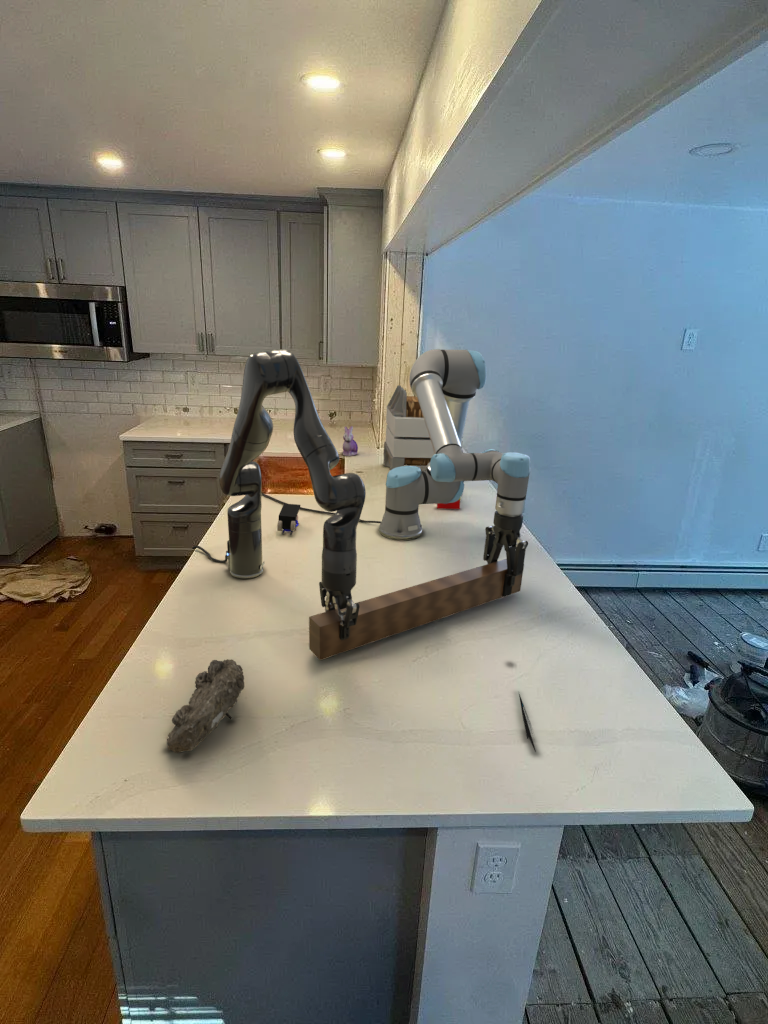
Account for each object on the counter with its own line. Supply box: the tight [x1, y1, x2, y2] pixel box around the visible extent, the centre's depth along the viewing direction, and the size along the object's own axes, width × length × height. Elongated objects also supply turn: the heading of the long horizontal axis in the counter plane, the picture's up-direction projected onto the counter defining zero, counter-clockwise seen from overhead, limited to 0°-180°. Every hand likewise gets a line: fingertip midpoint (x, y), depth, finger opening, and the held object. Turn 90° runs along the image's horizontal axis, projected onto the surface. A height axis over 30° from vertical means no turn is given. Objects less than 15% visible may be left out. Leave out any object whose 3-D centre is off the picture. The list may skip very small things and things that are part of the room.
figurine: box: [342, 425, 359, 457], centre depth 302 cm, size 9×10×15 cm
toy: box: [436, 496, 462, 510], centre depth 238 cm, size 12×13×30 cm
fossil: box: [166, 658, 245, 754], centre depth 106 cm, size 22×10×15 cm
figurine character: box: [276, 503, 301, 536], centre depth 198 cm, size 7×8×15 cm
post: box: [308, 558, 525, 661], centre depth 142 cm, size 64×5×8 cm, turn 125°
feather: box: [517, 691, 537, 753], centre depth 115 cm, size 2×28×2 cm
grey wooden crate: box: [383, 384, 464, 471], centre depth 268 cm, size 34×33×41 cm
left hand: (337, 632), depth 128 cm, fingers closed on post, 5 cm apart
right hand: (499, 590), depth 157 cm, fingers closed on post, 5 cm apart
